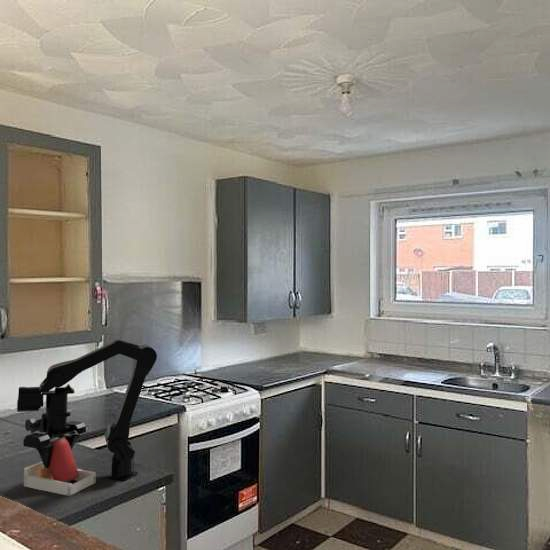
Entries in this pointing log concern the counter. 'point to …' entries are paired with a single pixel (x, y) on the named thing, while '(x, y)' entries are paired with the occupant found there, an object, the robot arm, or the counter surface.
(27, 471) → the white tray
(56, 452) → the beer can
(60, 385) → the robot arm
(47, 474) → the pusher
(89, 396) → the counter surface
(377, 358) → the counter surface
